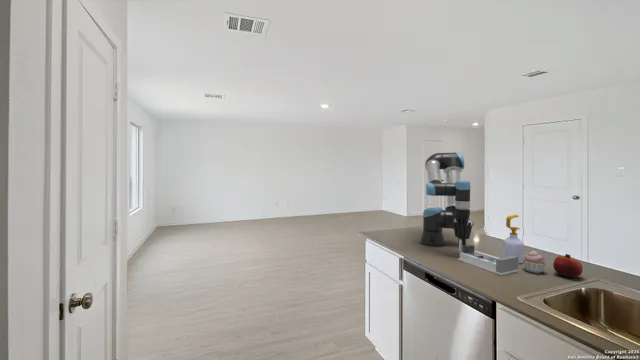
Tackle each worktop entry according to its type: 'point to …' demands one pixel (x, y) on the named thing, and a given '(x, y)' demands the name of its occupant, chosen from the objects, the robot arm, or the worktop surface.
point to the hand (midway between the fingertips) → (461, 250)
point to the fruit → (567, 266)
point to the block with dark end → (476, 253)
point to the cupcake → (534, 262)
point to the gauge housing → (492, 263)
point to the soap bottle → (513, 243)
